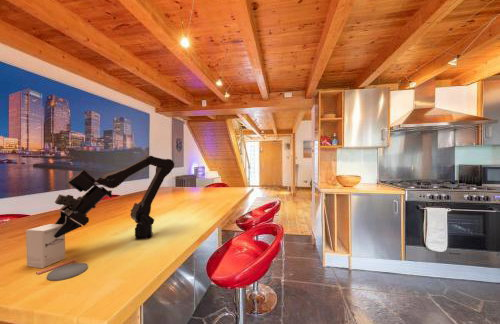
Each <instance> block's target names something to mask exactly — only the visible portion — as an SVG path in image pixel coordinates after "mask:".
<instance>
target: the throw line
mask: <svg viewBox="0 0 500 324" xmlns="http://www.w3.org/2000/svg"><path fill="white" fill-rule="evenodd" d="M76 262H77V259H74V258H73V259H71V260H67V261H64V262H62V263H59V264H56V265H53V266H51V267H46V268H43V269H42V270H39V271H36V274H37V275H42V274H44V273H45V274H46V273H47V272H48V273H49V272H51V271H53V270H54V269H57V268H59V267H62V266H65V265H68V264H73V263H76Z"/></svg>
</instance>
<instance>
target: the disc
mask: <svg viewBox="0 0 500 324" xmlns="http://www.w3.org/2000/svg"><path fill="white" fill-rule="evenodd" d="M88 269H89V265H88V263H85V262H72V263H70V264H67V265H64V266H61V267H59V268H56V269H53V270H50V271H49V272H48V273H47V275H46V279H47V280H48V281H52V282H57V281H63V280H69V279H72V278H74V277H78V276H79V275H81V274H83V273H84V272H86V271H87V270H88Z"/></svg>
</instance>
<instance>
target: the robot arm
mask: <svg viewBox="0 0 500 324" xmlns="http://www.w3.org/2000/svg"><path fill="white" fill-rule="evenodd" d="M148 166H153V167H155V173H154V176H153V178H152V179H151V182H150V183H149V185H148V187H147V189H146V191H145V193H144V195H143V197H142V198H141V201H139V202H138V203H136V202H135V203H134V204H133V207H132V208H131V210H130V215H129V216H130V218H131V219H132V220H134V223H135V224H136V225H135V226H136V227H134V237H135V238H134V239H135V240H144V239H151V238H152V236H153V234H154V232H153V224H154V222H155V219H154V218H153V217H151V216H150V214H151V211H152V210H151V209H152V203H153V201H154V199H155V198H156V196H157V193H158V192H159V189H160V188H161V185H162V184H163V182H164V180H165V179H166V177H167V176H168V175H169V174H170V173H171V172H172V171H173V169H174V168H175V163H174V161H173V160H172V159H170V158H160V157H156V156H153V155H146V156H144V157H143V158H141V159H138V160H136V161H135V162H133V163H131V164H130V165H128V166H126V167H124V168H122V169H119V170H115V171H112V172H109V173H106V174H104V175H102V176H101V177H95V178H94V177H93V176H91V175H90V174H89V173H88V172H87V171H86V170H84V169H82V170H81V171H79V172H77V173H76V174H74V175H72V176H71V177H70V178H69V179H68V180H67V181H66V183H67V184H68V185H70V186H71V187H72V188H74V189H75V190H77V191H78V192H79V193H82V192H85V193H84V194H83V195H82V196H78V197H76V198H75V197H74V196H73V195H71V194H67V195H64V194H58V196H57V197H56V199H55V201H54V204H56V205H59V206H61V207H60V210H59V217H58V219H57V221H56V222H55V223H54V224H62V226H61V228H60V229H59V230H58V231H57V232H56V234H55V235H54V237H55V238H58V237H60V236H62V235H64V234H65V235H66V234H68V233H70V232H72V231H74V230H77V229H79V228H82V227H83V226H84V227H85V226H86V225H87V224H88V223H90V218H89V217H88V215H87V214H88V213H89V212H90V211H91V210H92V209H95V208H96V207H97V206H96V205H97V204H98V203H99V202H101V201H102V200H103V199H104V198H105V197H106V196H107V197H108V198H112V197H113V196H112V193H113V191H112V190H108V189H115V188H118V187H119V186H120V185H121V184H123V183H124V182H125V180H127V178H129V177H131V176H132V175H134V174H136V173H138V172H140V171H141V170H144V169H145V168H147V167H148ZM98 185H100V186H98ZM106 188H107V189H106Z"/></svg>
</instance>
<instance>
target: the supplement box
mask: <svg viewBox="0 0 500 324" xmlns="http://www.w3.org/2000/svg"><path fill="white" fill-rule="evenodd" d="M61 226H62V224H55V223H48V224H44V225H41V226H37V227H36V226H35V227H32V228H29V229H26V230H25V234H26V235H25V237H26V238H25V239H26V240H25V241H26V243H25V244H26V266H27V267H29V268H38V269H45V268H47V267H48V266H50V265H53V264H56V263H57V262H60V261H62V260H65V259H66V234H64V235H62V236H60V237H58V238H55V237H54V235H55V234H56V232H57V231H58V230H59V229H60V228H61Z"/></svg>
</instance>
